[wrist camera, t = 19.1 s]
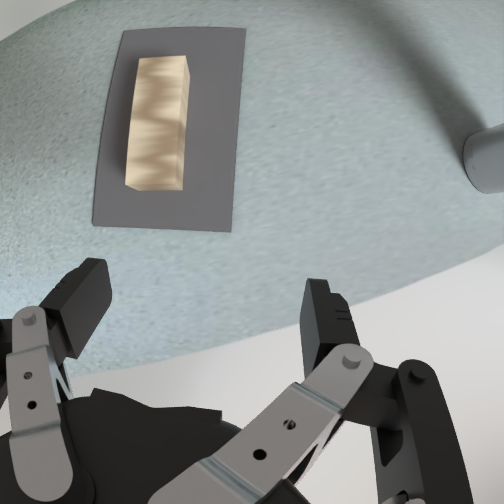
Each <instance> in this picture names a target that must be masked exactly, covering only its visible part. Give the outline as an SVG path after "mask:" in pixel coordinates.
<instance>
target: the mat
mask: <svg viewBox="0 0 504 504" xmlns="http://www.w3.org/2000/svg"><path fill="white" fill-rule="evenodd" d="M245 36H246V29H242V28H222V27H172V28H153V29H140V30H129V31H124V34H123V38H122V42H121V45H120V49H119V53H118V57H117V61H116V65H115V69H114V74H113V78H112V83H111V87H110V92H109V97H108V102H107V108H106V113H105V119H104V125H103V131H102V138H101V145H100V152H99V160H98V168H97V178H96V188H95V200H94V214H93V226H105V227H130V228H152V229H174V230H194V231H213V232H231V226H232V209H233V193H234V178H235V163H236V148H237V134H238V121H239V108H240V95H241V83H242V71H243V59H244V48H245ZM167 56H186V60H187V64H188V68H189V73H190V83H189V94H188V106H187V119H186V133H185V149H184V168H183V190H155V191H138V190H136V189H134V188H131V187H129V186H127V185H125V179H126V164H127V152H128V141H129V131H130V121H131V113H132V105H133V98H134V90H135V84H136V77H137V71H138V65H139V59H141V58H152V57H167Z"/></svg>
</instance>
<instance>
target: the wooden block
mask: <svg viewBox="0 0 504 504" xmlns="http://www.w3.org/2000/svg"><path fill="white" fill-rule="evenodd" d="M189 83H190V73H189V68H188V64H187V60H186V56H167V57H152V58H141V59H139V65H138V71H137V77H136V84H135V90H134V98H133V105H132V113H131V121H130V131H129V141H128V152H127V164H126V179H125V185H127V186H129V187H131V188H134V189H136V190H138V191H155V190H183V168H184V149H185V133H186V119H187V106H188V94H189Z"/></svg>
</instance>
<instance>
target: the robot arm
mask: <svg viewBox="0 0 504 504" xmlns="http://www.w3.org/2000/svg"><path fill="white" fill-rule="evenodd" d="M463 159H464V165H465V169H466V172H467V175H468V177H469V179H470V180H471V182H472V184H473V185H474V186H475V187H476V188H477V189H478V190H479V191H481V192H483V193H486V194H490V193H500V192H504V123H503V124H500V125H498V126H495V127H492V128H489V129H486V130H483V131H480V132H478V133H475V134H472V135H471V136H469V137H468V139H467V140H466V142H465V145H464V150H463ZM111 300H112V289H111V284H110V278H109V272H108V266H107V262H106V261H105V260H104V259H97V258H87V259H85V261H84V262H83V263H82V264H81V265H80V266H79V267H78V268H75V269H74V270H72V271H70V272H69V273H67V274H66V275H65V276H64V277H63V278H62V279H61V280H60V282H59V283H58V284H57V285H56V286H55V288H53V289H52V291H51V292H50V293H49V294H48V295H47V296H46V298H45V299H44V300H43V301H42V302H41V303H40V305H39V306H29V307H25V308H23V309H21V310H20V311H18V312H17V313H16V314H15V315H14V317H13V319H0V409H1V407H2V405H3V403H4V401H5V399H6V397H7V396H8V400H9V409H10V419H11V426H12V430H11V431H10V432H8V433H6V434H4V435H2V436H0V504H310V503H309V502H308V500H307V499H306V498H305V497H304V496H303V495H302V494H301V493H300V492H299V491H298V490H297V488H296V487H295V486H296V485H297V483H298V482H299V481H300V480H301V479H302V478H303V477H304V476H305V474H306V473H307V472H308V471H309V469H310V468H311V467H312V465H313V464H314V462H315V461H316V460H317V458H318V457H319V456H320V454H321V453H322V451H323V450H324V449H325V448H326V447H327V445H328V444H329V443H330V441H331V440H332V439H333V438H334V436H335V435H336V434H337V432H338V431H339V430H340V428H341V427H342V425H343V424H344V423H345V422H346V421H351V422H354V423H358V424H362V425H367V426H370V431H371V438H372V445H373V453H374V463H375V472H376V482H377V492H378V504H474V503H473V498H472V493H471V489H470V484H469V480H468V476H467V472H466V468H465V464H464V461H463V456H462V453H461V449H460V446H459V442H458V439H457V436H456V432H455V429H454V426H453V422H452V419H451V416H450V413H449V410H448V407H447V404H446V401H445V398H444V395H443V392H442V389H441V387H440V384H439V381H438V379H437V376H436V374H435V371H434V370H433V369H432V368H431V367H430V366H429V365H428V364H426V363H424V362H422V361H420V360H414V359H411V360H406V361H404V362H402V363H401V364H400V365H399V367H398V369H396V368H392V367H388V366H384V365H380V364H377V363H375V362H374V361H373V358H372V356H371V354H370V353H369V352H368V351H367V350H366V349H364V348H362V347H361V346H360V343H359V339H358V336H357V332H356V329H355V326H354V323H353V320H352V316H351V314H350V310H349V306H348V303H347V301H346V300H345V299H344V298H343V297H342V296H341V295H340V294H339V293H331V292H330V288H329V285H328V281H327V280H324V279H310V278H308V279H307V281H306V286H305V291H304V297H303V302H302V307H301V313H300V333H301V344H302V354H303V364H304V375H305V380H304V381H303V382H302V383H301V384H298V383H297V382H294V383H292V384H291V385H290V386H288V387H287V389H285V390H284V391H283V392H282V393H281V394H280V395H279V396H278V397H277V398H276V399H275V400H274V401H273V402H272V403H271V404H270V405H269V406H268V407H267V408H266V409H264V410H263V411H262V412H261V413H260V414H259V415H258V416H257V417H256V418H255V419H254V420H252V421H251V422H250V423H249V424H248V425H247V426H246V427H245V428H244V429H241V428H239V427H237V426H235V425H233V424H230V423H228V422H225V421H223V420H222V411H220V410H212V409H203V408H196V407H189V406H187V407H167V408H152V407H149V406H146V405H144V404H142V403H140V402H137V401H135V400H133V399H131V398H128V397H127V396H125V395H123V394H118V393H113V392H110V391H105V390H101V389H97V388H94V389H93V391H92V393H91V396H88V397H79V398H74V397H73V393H72V389H71V385H70V382H69V378H68V374H67V369H66V366H65V363H64V359H65V358H66V357H69V358H73V359H78V357H79V355H80V354H81V352H82V350H83V349H84V347H85V345H86V344H87V342H88V340H89V339H90V337H91V335H92V334H93V332H94V330H95V329H96V327H97V325H98V324H99V322H100V321H101V319H102V317H103V316H104V314H105V313H106V311H107V309H108V308H109V306H110V304H111Z"/></svg>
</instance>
